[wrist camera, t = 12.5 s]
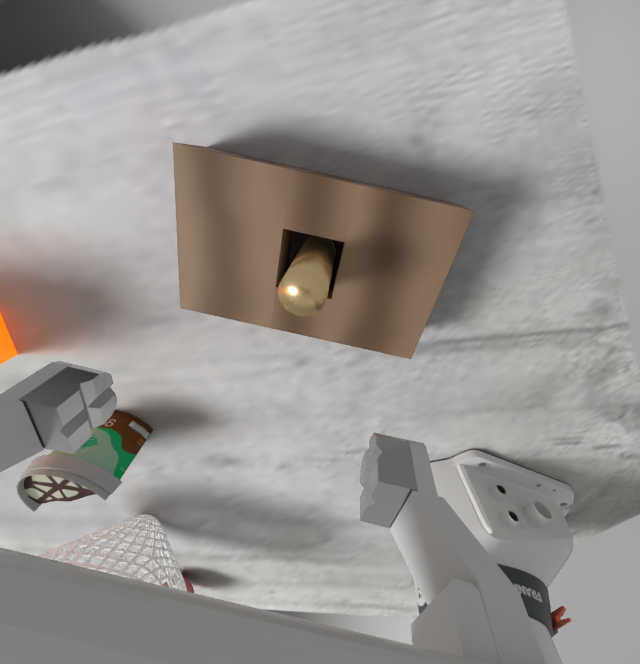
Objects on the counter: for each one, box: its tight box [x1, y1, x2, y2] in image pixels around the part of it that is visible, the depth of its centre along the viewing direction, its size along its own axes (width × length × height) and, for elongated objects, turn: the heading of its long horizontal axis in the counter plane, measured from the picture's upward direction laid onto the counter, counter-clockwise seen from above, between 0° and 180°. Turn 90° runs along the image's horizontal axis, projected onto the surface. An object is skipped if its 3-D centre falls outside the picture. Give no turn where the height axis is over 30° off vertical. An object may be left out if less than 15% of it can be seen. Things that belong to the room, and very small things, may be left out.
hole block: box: [173, 143, 475, 359], centre depth 24 cm, size 20×12×5 cm, turn 79°
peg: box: [278, 235, 336, 316], centre depth 22 cm, size 3×3×10 cm
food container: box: [17, 410, 153, 512], centre depth 36 cm, size 12×6×10 cm, turn 111°
